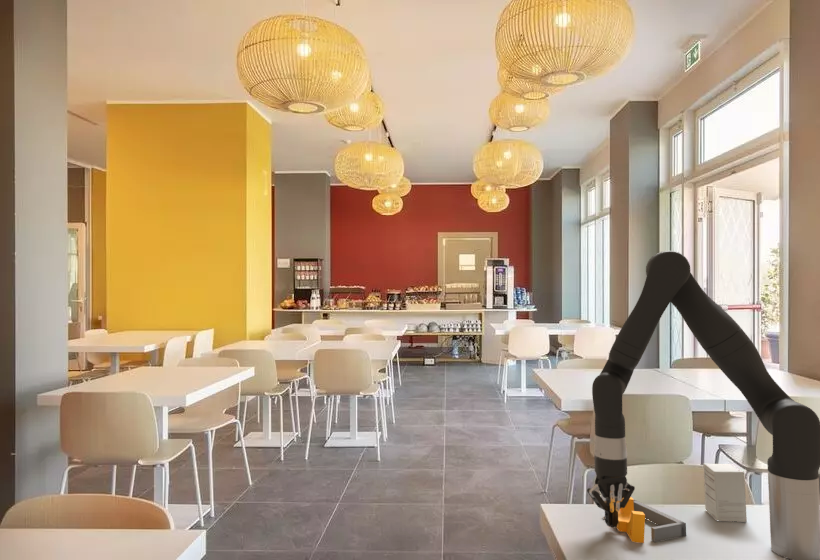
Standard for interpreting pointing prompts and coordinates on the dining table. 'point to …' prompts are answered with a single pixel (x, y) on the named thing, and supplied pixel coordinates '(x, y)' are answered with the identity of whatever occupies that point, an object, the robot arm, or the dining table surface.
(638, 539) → the pipe clamp
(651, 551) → the dining table surface
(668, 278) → the robot arm
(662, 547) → the dining table surface
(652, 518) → the frame
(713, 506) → the supplement box
